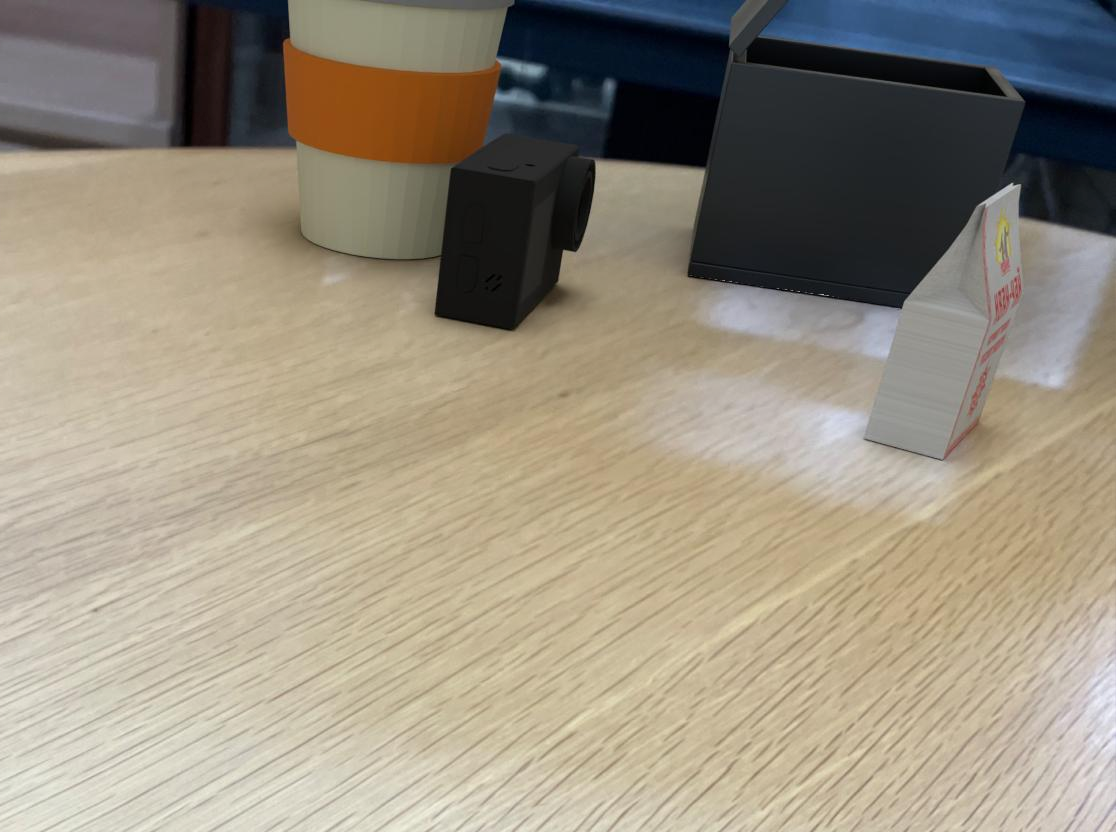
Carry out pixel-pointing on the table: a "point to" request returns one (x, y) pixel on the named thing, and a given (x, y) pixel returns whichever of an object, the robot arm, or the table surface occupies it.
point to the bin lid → (751, 22)
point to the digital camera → (511, 227)
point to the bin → (847, 167)
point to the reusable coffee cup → (386, 115)
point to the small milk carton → (952, 335)
